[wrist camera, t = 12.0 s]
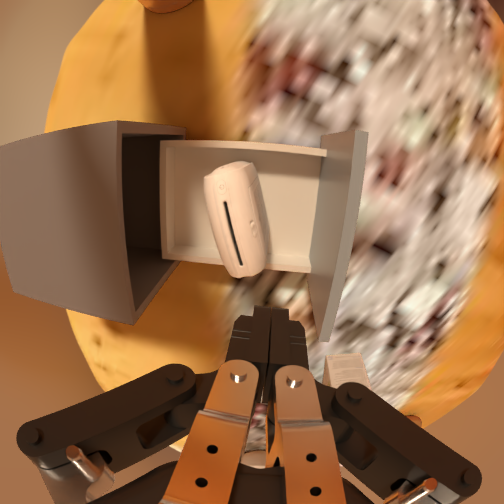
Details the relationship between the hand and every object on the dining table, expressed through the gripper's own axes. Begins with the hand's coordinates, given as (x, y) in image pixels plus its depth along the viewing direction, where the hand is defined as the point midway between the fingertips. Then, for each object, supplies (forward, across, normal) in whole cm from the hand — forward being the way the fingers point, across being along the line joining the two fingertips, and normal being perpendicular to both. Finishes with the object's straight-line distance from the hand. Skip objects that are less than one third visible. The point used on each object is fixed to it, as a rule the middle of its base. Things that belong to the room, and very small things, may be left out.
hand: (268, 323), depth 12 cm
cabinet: (+25, +22, 0) cm, 33 cm away
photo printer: (+23, +3, -1) cm, 24 cm away
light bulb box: (+26, -16, +29) cm, 42 cm away
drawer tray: (+25, +4, -1) cm, 25 cm away
